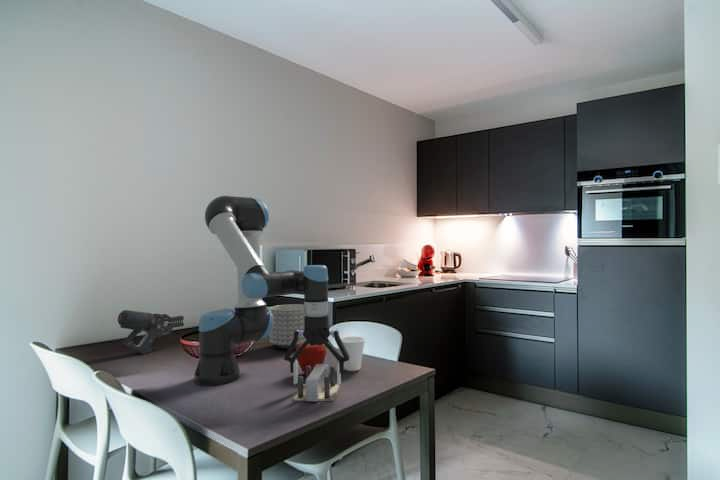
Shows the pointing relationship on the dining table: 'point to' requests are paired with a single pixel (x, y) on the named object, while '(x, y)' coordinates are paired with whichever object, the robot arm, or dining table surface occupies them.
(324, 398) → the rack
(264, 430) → the dining table surface
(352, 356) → the cup
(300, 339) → the planter
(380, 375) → the dining table surface
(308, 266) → the robot arm
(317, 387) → the grey stepped post
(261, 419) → the dining table surface
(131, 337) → the gun
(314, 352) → the apple
